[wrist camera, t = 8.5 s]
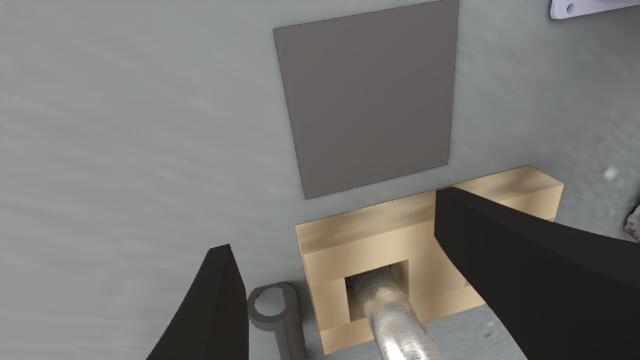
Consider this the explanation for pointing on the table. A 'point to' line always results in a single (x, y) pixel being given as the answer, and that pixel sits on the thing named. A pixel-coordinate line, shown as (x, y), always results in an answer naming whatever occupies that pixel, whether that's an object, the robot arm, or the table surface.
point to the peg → (392, 317)
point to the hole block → (403, 253)
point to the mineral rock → (634, 224)
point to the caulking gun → (282, 323)
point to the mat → (370, 94)
